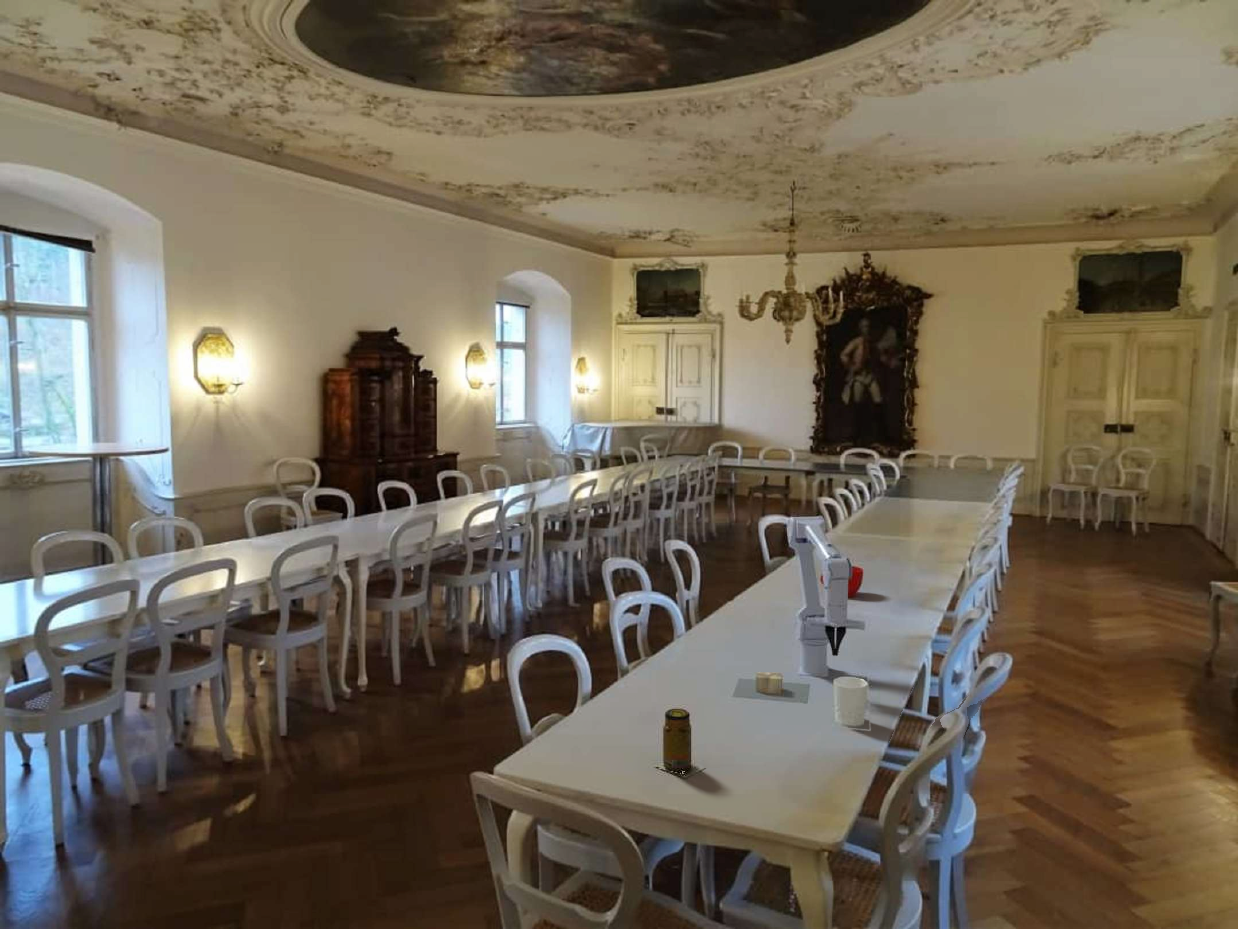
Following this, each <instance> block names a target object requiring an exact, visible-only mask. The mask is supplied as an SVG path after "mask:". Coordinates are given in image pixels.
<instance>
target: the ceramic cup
mask: <svg viewBox="0 0 1238 929" xmlns="http://www.w3.org/2000/svg"><path fill="white" fill-rule="evenodd" d="M863 578H864V569H863V568H861V567H859V566H854V565H852V576H851V579H849V580H848V579H847V580H848V598H851V597H854V596H855V595H856V594H857V593H858V591H859V590H860V589H861V586H862V584H863ZM819 579H820V580H819V581H820V583H821V584H822V585H823V586H824V583H823V574H820V577H819Z"/></svg>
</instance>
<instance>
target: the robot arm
mask: <svg viewBox="0 0 1238 929" xmlns="http://www.w3.org/2000/svg"><path fill="white" fill-rule="evenodd" d="M826 528H827V525H826V521H825V519H824V517H823V516H822V515H818V516H790V517H789V518H788V520H787V522H786V535H787V541H788V546H789V548H791V549H793V550H794V554H795V558H796V565H797V571H798V580H799V586H800V592H801V593H800V594H801V602H802V608H800V609H799V610H798V611H797V612H796V613H795V615H794V633H795V634H794V635H795V638H796V639H797V640H798V641H799V642H800V663H799V666H798V667H799V668H798V673H797V674H798V675H799V676H807V677H808V676H810V677H819V678H822V677H823V678H827V677H829V667H830V666H829V665H828V644H830V649H831V655H832V656H833V657H837V656H839V651H840V646H841V644H842V641H843V640H844V637H845V635H846V634H847V629H848V630H849V629H850V630H852V629H853V630H860V631H865V629H866V628H865V626H866V623H865V621H864V620H857V619H853V618H851V619H850V618H848V599H849V597H848V580H849V579H851V576H852V566H853V565H852V562H851V559H850V557H848V556H843V555H842V554H841V553H840V551H839V550H838V548H837V546H836V544H835V543H834V542H832V541H829V540H828V538H827V536H826V530H827V529H826ZM814 556H816V558H817V560H818V561H819V563H820V565H821V573H822V574H823V583H824V585H823V586H824V588H825V589H824V607H823V605H821V601H820V593H819V586H818V580H817V579H818V578H817V572H816V566H815V564H816V563H815V558H814ZM822 574H821V575H822ZM847 579H848V580H847Z"/></svg>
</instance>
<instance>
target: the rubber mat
mask: <svg viewBox="0 0 1238 929" xmlns="http://www.w3.org/2000/svg"><path fill="white" fill-rule="evenodd" d="M810 686H811V685H810V683H809V684H808V683H800V682H799V683H796V682H788V681H787V682H785V681H782V691H781V694H777V693H766V692H756V679H751V678H750V679H748V678H739V677H738V680H737V683H736V685H735V688H734V691H733V694H732V698H743V699H752V700H753V699H756V700H764V701H776V702H777V701H778V702H790V703H799V704H801V703H802V704H808V699H809V693H810Z"/></svg>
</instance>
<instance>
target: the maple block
mask: <svg viewBox="0 0 1238 929" xmlns="http://www.w3.org/2000/svg"><path fill="white" fill-rule="evenodd" d="M755 680H756V692H766V693H777V694H781V691H782V682H783V674H782V673H776V672H764V671H763V672H762V671H757V673H756V675H755Z"/></svg>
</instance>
